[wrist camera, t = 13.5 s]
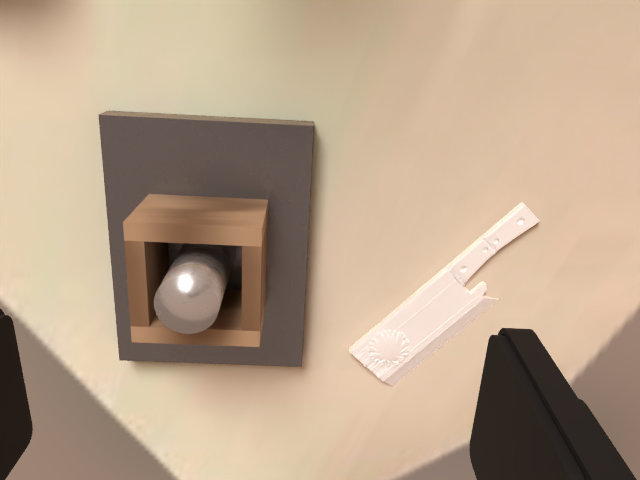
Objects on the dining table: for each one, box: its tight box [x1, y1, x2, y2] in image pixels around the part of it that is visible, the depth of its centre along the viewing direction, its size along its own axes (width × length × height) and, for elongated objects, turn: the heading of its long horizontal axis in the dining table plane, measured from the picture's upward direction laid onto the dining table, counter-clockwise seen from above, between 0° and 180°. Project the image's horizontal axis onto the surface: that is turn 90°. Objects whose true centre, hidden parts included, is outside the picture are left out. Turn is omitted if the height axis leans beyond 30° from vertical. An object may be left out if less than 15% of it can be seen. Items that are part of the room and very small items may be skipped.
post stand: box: [99, 111, 314, 367], centre depth 32 cm, size 12×16×8 cm
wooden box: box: [123, 194, 268, 347], centre depth 32 cm, size 7×7×5 cm
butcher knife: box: [349, 202, 540, 386], centre depth 38 cm, size 5×15×1 cm, turn 134°
